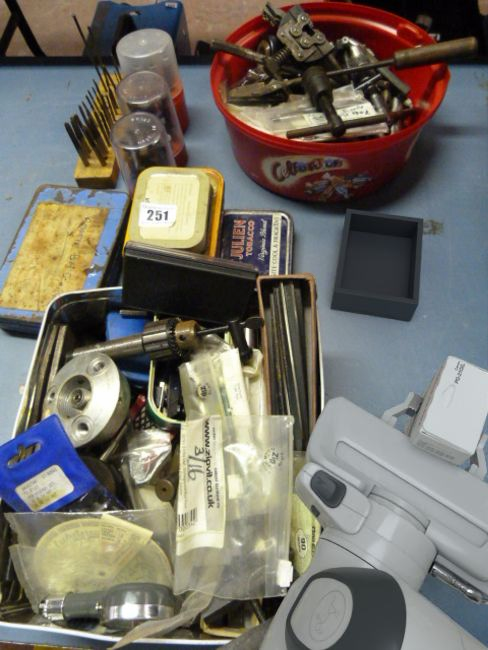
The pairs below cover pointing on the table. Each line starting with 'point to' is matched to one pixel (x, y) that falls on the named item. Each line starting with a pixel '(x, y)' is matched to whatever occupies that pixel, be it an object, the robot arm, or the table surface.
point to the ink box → (451, 412)
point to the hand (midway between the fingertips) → (446, 413)
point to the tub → (379, 265)
